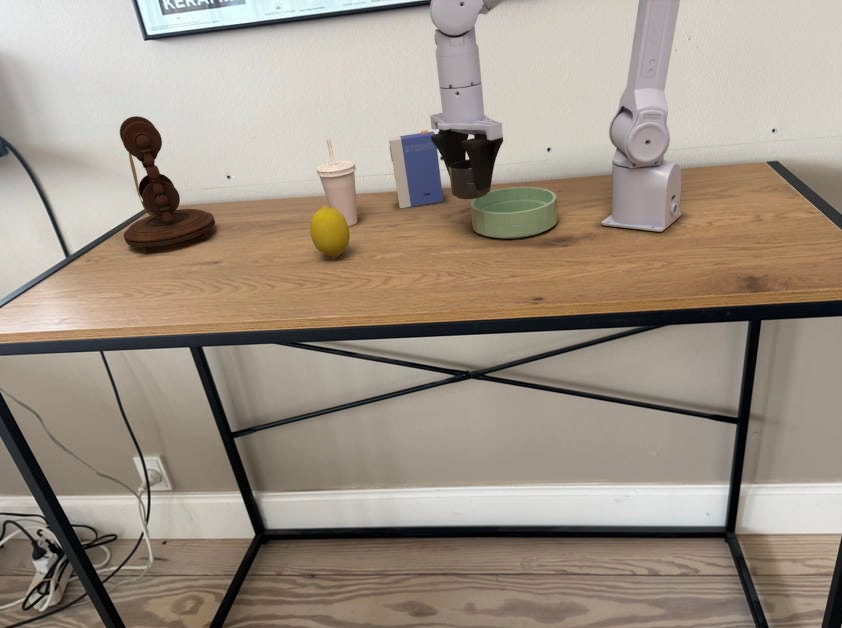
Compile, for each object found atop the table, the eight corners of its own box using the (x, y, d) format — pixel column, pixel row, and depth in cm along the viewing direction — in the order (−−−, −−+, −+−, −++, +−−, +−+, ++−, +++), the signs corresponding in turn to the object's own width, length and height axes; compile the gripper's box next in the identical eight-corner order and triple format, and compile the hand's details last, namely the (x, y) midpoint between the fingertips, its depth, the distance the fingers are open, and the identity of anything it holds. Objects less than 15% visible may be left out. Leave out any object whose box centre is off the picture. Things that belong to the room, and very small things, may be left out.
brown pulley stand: (125, 238, 123) (83, 121, 113) (210, 219, 128) (176, 105, 118) (131, 262, 111) (85, 134, 101) (224, 240, 116) (189, 116, 106)
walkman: (441, 197, 125) (433, 129, 119) (443, 202, 123) (435, 132, 117) (398, 204, 124) (387, 135, 118) (399, 208, 122) (388, 138, 116)
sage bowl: (572, 217, 109) (571, 190, 107) (529, 245, 100) (528, 217, 98) (501, 209, 116) (500, 184, 114) (456, 235, 107) (453, 208, 105)
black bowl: (498, 190, 101) (496, 159, 99) (476, 202, 97) (473, 170, 95) (467, 187, 104) (464, 157, 102) (444, 198, 100) (441, 168, 98)
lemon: (360, 251, 105) (350, 199, 101) (342, 266, 100) (332, 212, 96) (328, 250, 107) (317, 199, 103) (309, 264, 102) (297, 212, 98)
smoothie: (320, 228, 116) (302, 143, 110) (340, 216, 121) (324, 134, 115) (353, 230, 114) (337, 143, 107) (372, 217, 119) (357, 133, 112)
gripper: (407, 86, 97) (420, 183, 104) (467, 94, 86) (477, 200, 93) (449, 78, 100) (459, 172, 107) (511, 83, 90) (518, 187, 96)
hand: (470, 184), depth 100 cm, fingers closed on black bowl, 6 cm apart
